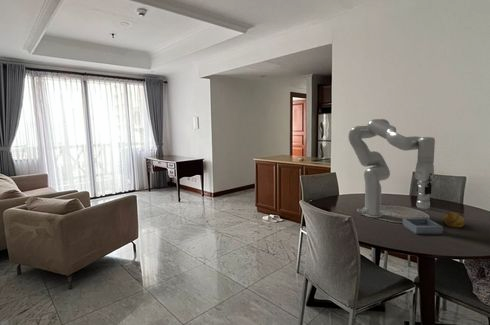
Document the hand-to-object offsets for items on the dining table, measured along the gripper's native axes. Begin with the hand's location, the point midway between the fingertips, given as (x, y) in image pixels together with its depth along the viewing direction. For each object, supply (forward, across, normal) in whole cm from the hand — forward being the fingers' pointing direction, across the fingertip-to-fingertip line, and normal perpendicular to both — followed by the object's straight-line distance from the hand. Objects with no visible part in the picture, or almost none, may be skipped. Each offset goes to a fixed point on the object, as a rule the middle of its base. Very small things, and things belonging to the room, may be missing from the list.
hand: (423, 192), depth 156 cm
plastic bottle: (+10, 0, 0) cm, 10 cm away
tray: (+21, 0, 0) cm, 21 cm away
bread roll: (+22, -6, +22) cm, 31 cm away
